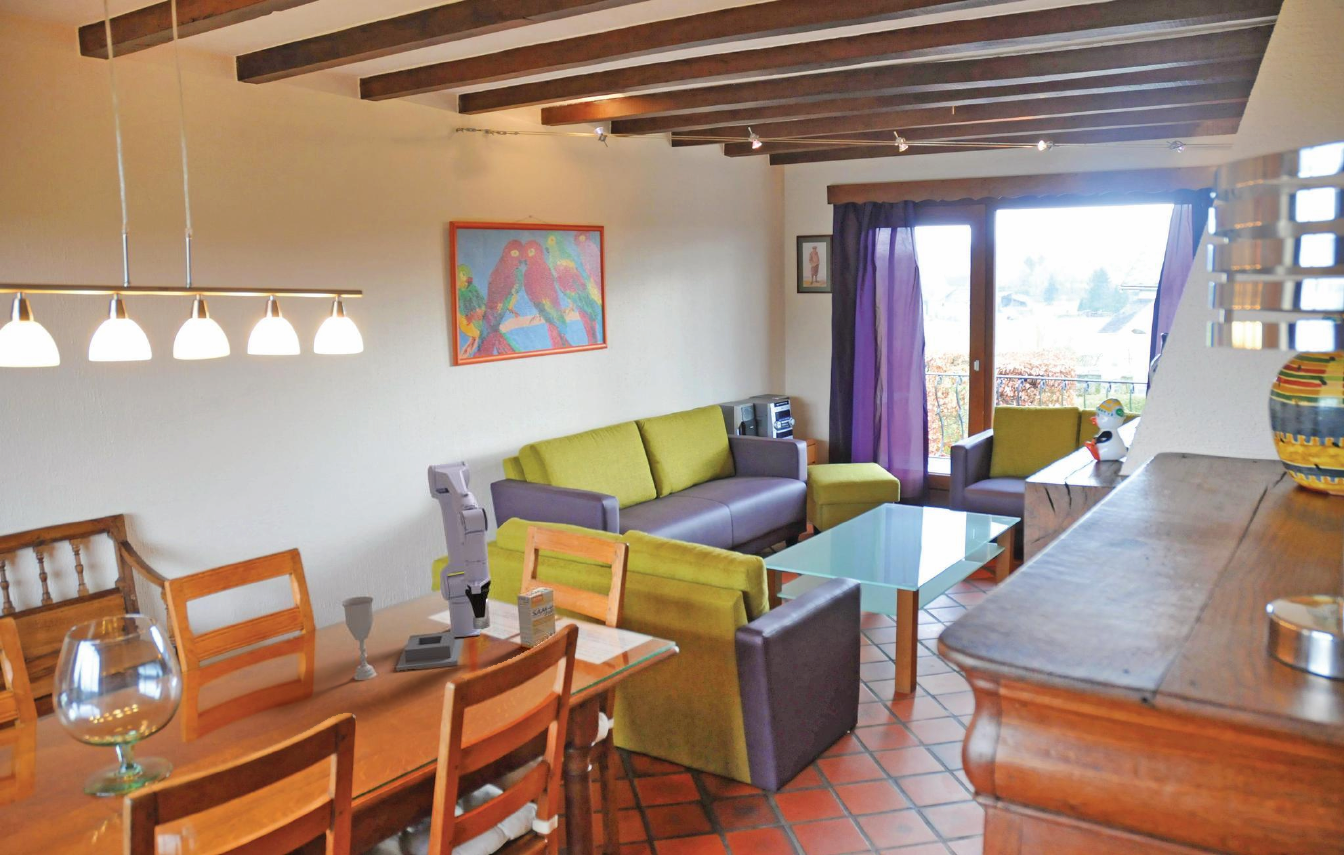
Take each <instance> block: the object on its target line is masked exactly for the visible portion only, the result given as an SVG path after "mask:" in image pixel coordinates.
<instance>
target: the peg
mask: <svg viewBox="0 0 1344 855" xmlns="http://www.w3.org/2000/svg"><path fill="white" fill-rule="evenodd" d="M471 607H472V605H471ZM489 608H490V606H489V594H488V595H487V599H486V610H485V617H484V618H475V615H474V612H473V608H472V618H473V628H474V629H481V630H484V629H487V628H489V627H490V626H491V619H490V609H489Z"/></svg>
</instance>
